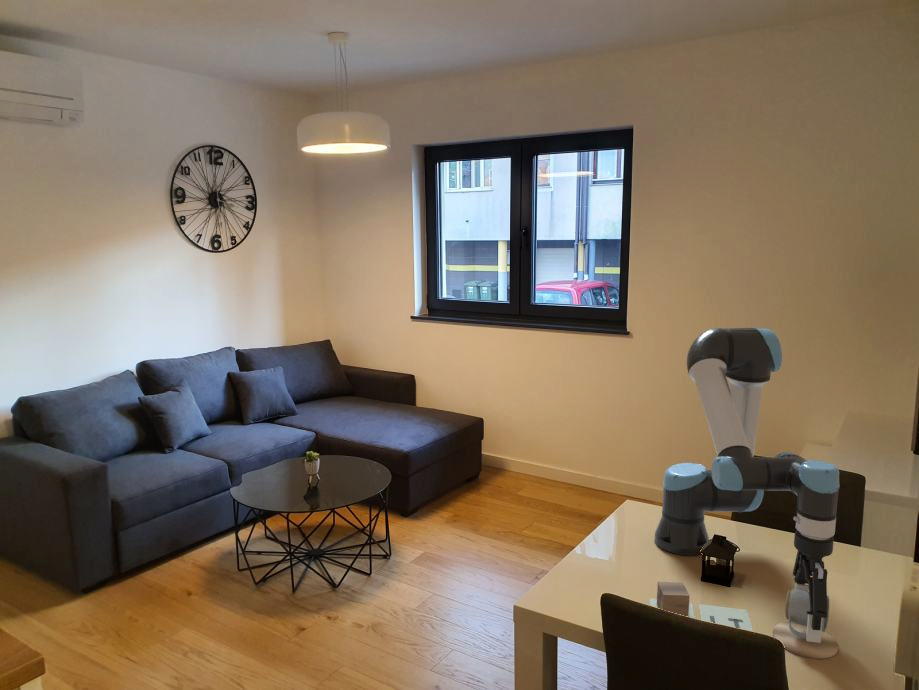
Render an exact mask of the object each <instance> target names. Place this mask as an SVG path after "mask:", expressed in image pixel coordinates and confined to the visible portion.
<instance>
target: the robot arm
mask: <svg viewBox="0 0 919 690" xmlns="http://www.w3.org/2000/svg"><path fill="white" fill-rule="evenodd" d="M686 356H687V357H686V369H687V373H688V377H689V378H690V379H691V380H692V381H693V383H695V385H696V389H697V392H698V395H699V399H700V402H701V405H702V408H703V411H704V416H705V419H706V422H707V426H708V429H709V433H710V436H711V439H712V441H713V445H714V448H715V452H716V455H717V456H716V457H715V458H714V459H713V460H712V463H711V468H710V469H711V470H710V469H709V470H708V469H707V467H706V466H705V465H703V464H700V463H693V462H682V463H677V464H672V465H671V466H669V467H668V468H666V470H665V472H664V476H663V482H662V487H663V489H662V506H661V507H662V509H661V511H662V512H661V518H660V519H659V523H658V525H657V527H656V530H655V533H654V543H655V545H656V546H657V547H659V548H660V549H662V550H663V551H665V552H668V553H671V554H675V555H681V556H690V557H691V556H699V555H701V554H700V550H701V549H702V547H703V546H704V544H705V543H706V542H708V541H709V542H710V538H709V534H708V532H707V526H706V524H705V514H706V512H724V513H725V512H730V513H731V512H734V513H735V512H737V513H743V512H753V511H755V510H757V509H758V508H759V506H760V505H761V503H762V502H763V498H764V494H765V491H766V492H767V491H770V492H771V491H775V492H776V491H777V492H779V491H783V492H784V491H785V492H787V491H788V492H791V493H792V494H794V495H795V496H797V503H796V516H793V521H795V529H796V530H795V531H794V537H793V545H794V548H795V549H796V550H797V552H796V557H795V562H794V566H793V569H792V571H793V572H792V576H793V577H794V582H795V583H794V589H798V590H803V591H808V592H809V601H810V611H806V612H807V614H808V621H807V633H806V640H807V641H809V642H817V643H821V634H822V623H823V618H827V595H828V589H827V588H828V587H827V586H828V583H827V580H828V570H827V569H826V568H825V562H824V561H823V558H825V557H829V556H831V555H832V554H833V552H834V551H833V550H834V542H835V541H834V540H835V538H834V535H835V533H836V523H837V509H838V508H837V507H838V499H839V492H840V491H839V490H840V487H841V484H840V470H839V468H838V467H837V466H836V465H834V464H833V463H828V462H827V461H823V460H813V459H812V460H811V459H810V460H806V458H803V457H802V456H801V455H799V454H796V453H793V452H790V451H783V452H780V453H779V454H777V455H775V456H774V457H773V456H771V457H770V456H768V457H767V456H766V457H765V456H754V455H755V449H756V442H757V434H758V433H757V432H758V426H759V419H760V411H761V404H762V403H761V402H762V395H763V387H764V385H766V384H767V383H769V382H770V380H771V375H772V373H776V372H778V371H779V370H780V369H781V367H782V364H783V350H782V346H781V343H780V340H779V338H778V336H777V334H776V333H775V332H774V331H773V330H771V329H769V328H758V327H734V328H733V327H732V328H731V327H730V328H729V327H728V328H727V327H726V328H725V327H723V328H722V327H716V328H715V327H714V328H711V329H707V330H706V331H704V332H702V333H700V334H699V335H698V336H697V337H696V338H695V339H694V340H693V342H692V343H691V344H690V346H689V348H688V351H687V355H686ZM771 372H772V373H771Z"/></svg>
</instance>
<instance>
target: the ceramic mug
mask: <svg viewBox="0 0 919 690" xmlns="http://www.w3.org/2000/svg"><path fill="white" fill-rule="evenodd" d="M785 597H786V598H785V605H784V615H785V618H786V619H787V622H788V624H789V629H790V631H791V632H792V633H793V634H795V635H796V636H798V637H801V638H806V633H801V632H798V631H797V630H795V629H794V628H793V627H792V626H791V622H793V623H796V624H800V625H803V626H806V627H807V621H808V614H807V612H806V611H810V601H809V590H808V591H803V590H798V589H795V588H792V589H789V590H788V591H787V593H786V596H785ZM829 613H830V597H829V595H828V594H827V618H823V623H822V632H825V631H826V632H827V628H828V622H829V617H830V616H829Z"/></svg>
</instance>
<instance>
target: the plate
mask: <svg viewBox="0 0 919 690" xmlns="http://www.w3.org/2000/svg"><path fill="white" fill-rule="evenodd" d="M649 605H651V606H654V607H657V608H658V606H657V598H651V597H650V598H649ZM688 617H692V618H695V619H696V617H695V613H694V607H693V603H692V602H689V615H688Z"/></svg>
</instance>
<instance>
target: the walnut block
mask: <svg viewBox="0 0 919 690" xmlns="http://www.w3.org/2000/svg"><path fill="white" fill-rule="evenodd" d="M656 591H657V592H656V599H657V606H658V608H660V609H663V610H666V611H670V612H673V613H677V614H681V615H684V616H688V615H689V603H690V593H689V592H688V590H687V587H686V586H685V584H684V582H681V581H680V582H679V581H678V582H677V581H657V589H656Z"/></svg>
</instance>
